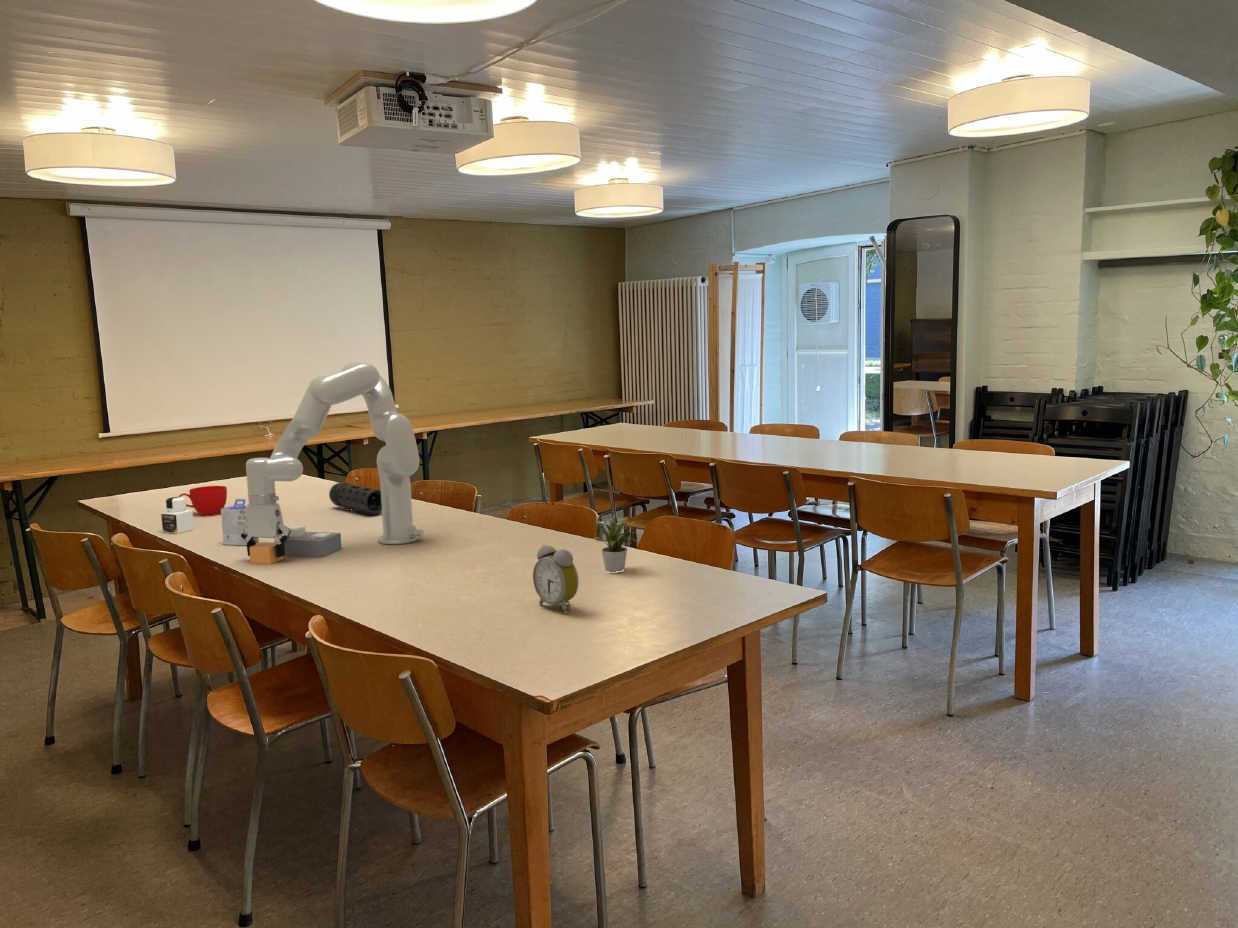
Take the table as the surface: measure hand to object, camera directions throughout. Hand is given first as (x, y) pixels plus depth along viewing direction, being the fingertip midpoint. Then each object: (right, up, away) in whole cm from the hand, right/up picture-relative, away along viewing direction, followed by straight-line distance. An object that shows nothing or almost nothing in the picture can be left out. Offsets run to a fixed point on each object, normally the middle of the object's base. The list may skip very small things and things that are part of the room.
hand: (266, 555), depth 259 cm
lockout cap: (0, -2, 0) cm, 2 cm away
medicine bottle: (-49, +4, +44) cm, 66 cm away
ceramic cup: (-54, +8, +73) cm, 91 cm away
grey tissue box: (+9, 0, +11) cm, 14 cm away
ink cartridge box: (-18, +1, +24) cm, 30 cm away
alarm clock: (+91, -8, -49) cm, 104 cm away
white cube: (+4, +4, +12) cm, 13 cm away
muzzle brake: (+5, +9, +73) cm, 74 cm away
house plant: (+104, -3, -19) cm, 105 cm away
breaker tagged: (+13, +2, +10) cm, 17 cm away
